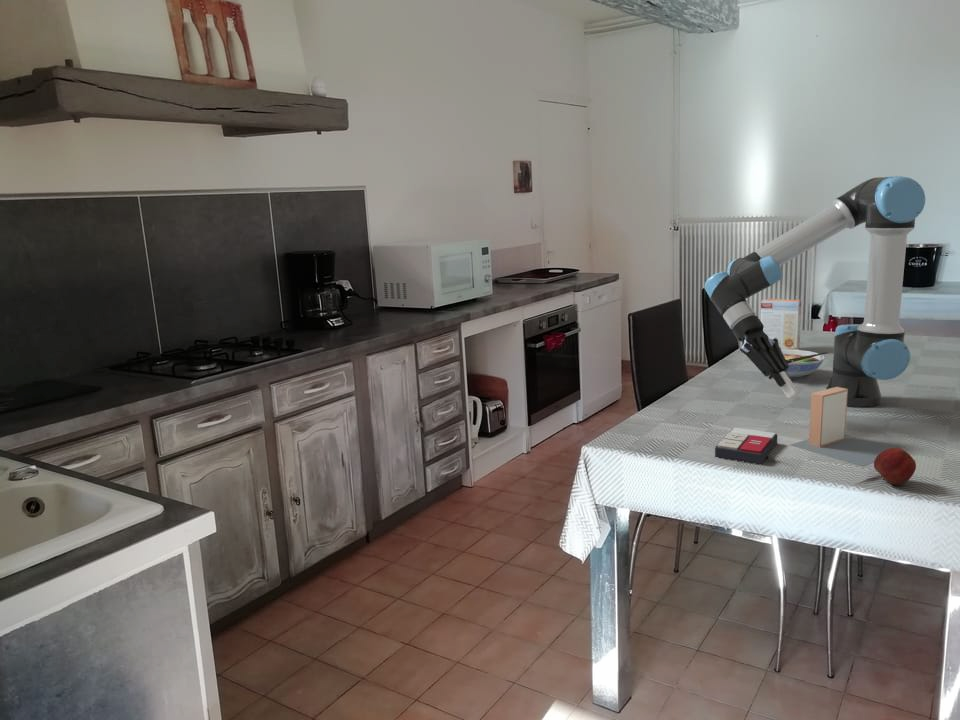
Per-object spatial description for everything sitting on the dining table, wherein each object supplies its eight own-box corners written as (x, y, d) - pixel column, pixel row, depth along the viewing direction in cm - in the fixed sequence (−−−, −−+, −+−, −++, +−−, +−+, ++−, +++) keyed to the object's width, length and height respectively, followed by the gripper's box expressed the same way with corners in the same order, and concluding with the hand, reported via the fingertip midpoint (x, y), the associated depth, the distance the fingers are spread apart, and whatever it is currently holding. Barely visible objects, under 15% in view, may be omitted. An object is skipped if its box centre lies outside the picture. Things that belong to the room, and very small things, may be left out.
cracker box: (799, 352, 295) (802, 299, 290) (796, 355, 290) (799, 301, 285) (762, 350, 302) (764, 298, 298) (758, 352, 297) (760, 300, 293)
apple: (908, 492, 157) (911, 456, 156) (868, 484, 162) (870, 448, 161) (917, 482, 163) (920, 446, 161) (877, 474, 168) (880, 440, 166)
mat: (834, 434, 196) (834, 431, 196) (907, 453, 180) (907, 450, 180) (789, 447, 187) (789, 444, 187) (861, 469, 171) (862, 466, 171)
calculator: (714, 444, 181) (733, 425, 193) (714, 461, 182) (732, 440, 194) (761, 451, 175) (778, 431, 187) (761, 468, 176) (777, 447, 188)
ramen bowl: (781, 365, 274) (782, 343, 272) (840, 376, 255) (841, 353, 253) (735, 376, 261) (736, 353, 259) (793, 388, 242) (794, 363, 240)
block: (833, 436, 192) (836, 386, 189) (844, 439, 189) (848, 389, 186) (808, 444, 187) (811, 393, 184) (819, 447, 184) (822, 395, 181)
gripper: (751, 328, 209) (800, 399, 199) (718, 333, 203) (767, 407, 192) (768, 311, 204) (819, 383, 193) (735, 316, 197) (786, 391, 187)
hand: (793, 395), depth 193 cm, fingers closed
